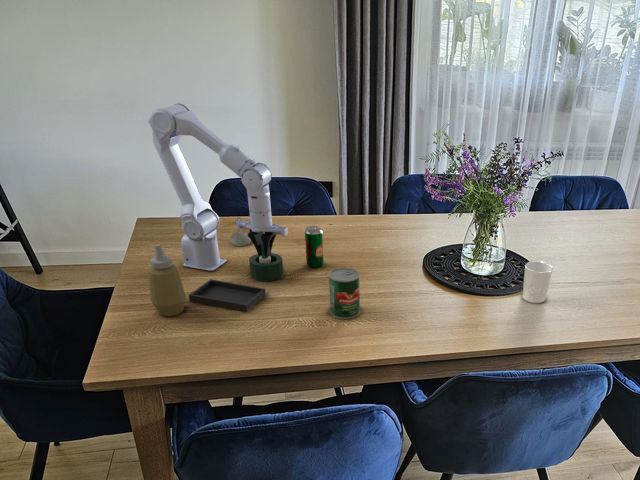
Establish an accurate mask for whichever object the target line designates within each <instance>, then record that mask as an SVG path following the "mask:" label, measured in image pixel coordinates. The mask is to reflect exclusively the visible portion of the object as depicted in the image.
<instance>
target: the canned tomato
mask: <svg viewBox="0 0 640 480" xmlns="http://www.w3.org/2000/svg"><path fill="white" fill-rule="evenodd" d="M360 276H361V274H360V272H359V271H358V270H356V269H354V268H349V267H339V268H335V269H332V270H331V271H329V273H328V288H329V289H328V290H329V291H328V293H329V314H330V315H331V316H332V317H334V318H335V319H339V320H350V319H353V318H356V317H358V316H359V315H360V313H361V302H360V301H361V298H360V297H361V293H360V292H361V291H360V290H361V289H360V287H361V286H360V285H361V283H360V282H361V280H360V279H361V277H360Z"/></svg>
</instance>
